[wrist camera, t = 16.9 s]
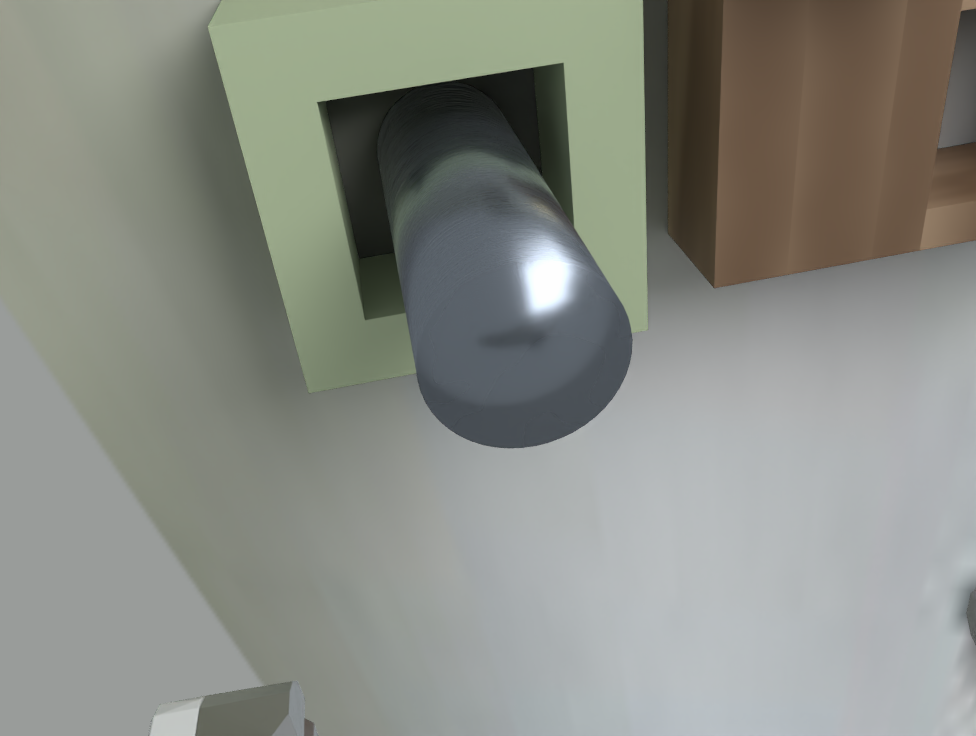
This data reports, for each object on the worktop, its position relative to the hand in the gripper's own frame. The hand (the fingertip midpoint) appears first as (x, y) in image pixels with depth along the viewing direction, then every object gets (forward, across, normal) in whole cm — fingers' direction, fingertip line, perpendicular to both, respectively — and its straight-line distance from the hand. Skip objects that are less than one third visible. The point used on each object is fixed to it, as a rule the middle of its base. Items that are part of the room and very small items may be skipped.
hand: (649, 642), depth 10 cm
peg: (+19, 0, 0) cm, 19 cm away
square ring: (+19, +1, 0) cm, 19 cm away
